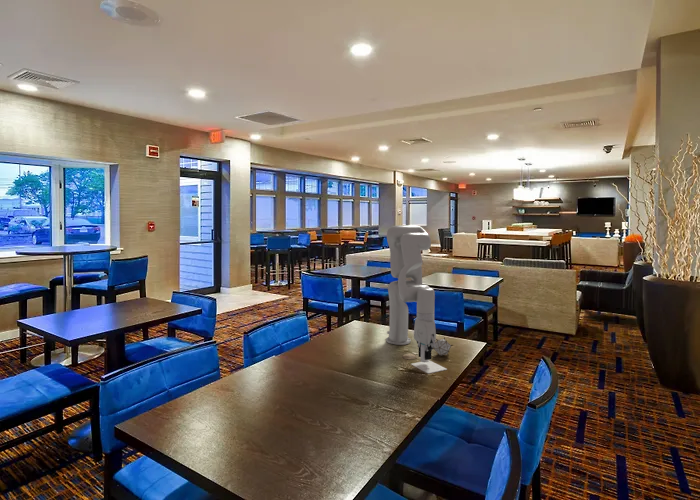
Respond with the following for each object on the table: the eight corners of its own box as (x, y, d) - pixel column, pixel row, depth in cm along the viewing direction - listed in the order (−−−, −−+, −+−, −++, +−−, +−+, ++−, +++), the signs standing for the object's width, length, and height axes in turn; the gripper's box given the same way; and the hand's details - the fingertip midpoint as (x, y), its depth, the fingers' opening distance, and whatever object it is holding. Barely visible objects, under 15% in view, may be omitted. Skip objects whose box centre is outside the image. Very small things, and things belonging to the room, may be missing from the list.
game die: (445, 364, 191) (455, 351, 185) (428, 357, 191) (438, 344, 185) (446, 349, 199) (455, 336, 193) (429, 343, 198) (438, 330, 193)
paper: (410, 364, 180) (410, 363, 180) (429, 360, 185) (429, 360, 185) (428, 373, 170) (428, 373, 170) (447, 369, 174) (447, 368, 174)
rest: (399, 356, 191) (399, 355, 191) (410, 354, 194) (411, 353, 194) (407, 360, 185) (407, 359, 185) (419, 358, 188) (419, 357, 188)
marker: (418, 360, 180) (418, 340, 180) (425, 359, 182) (425, 338, 181) (424, 362, 177) (424, 342, 176) (430, 361, 179) (431, 341, 178)
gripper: (407, 313, 184) (406, 353, 185) (430, 321, 169) (430, 365, 170) (420, 311, 187) (420, 351, 188) (445, 319, 173) (444, 362, 174)
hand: (424, 357), depth 179 cm, fingers closed on marker, 3 cm apart
